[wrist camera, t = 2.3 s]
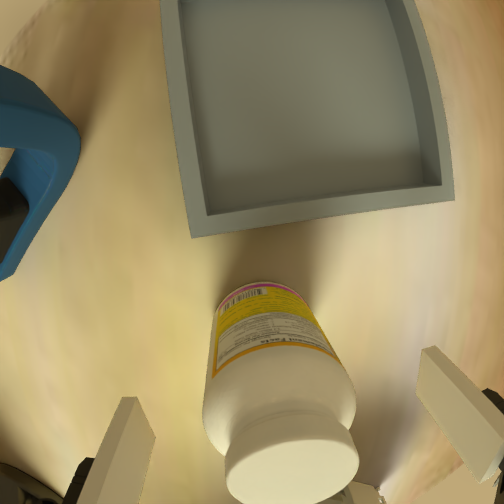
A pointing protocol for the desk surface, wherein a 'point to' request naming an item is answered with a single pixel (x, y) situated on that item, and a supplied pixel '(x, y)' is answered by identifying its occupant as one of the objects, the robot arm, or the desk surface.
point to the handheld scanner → (30, 163)
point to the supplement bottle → (277, 400)
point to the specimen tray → (302, 110)
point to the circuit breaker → (355, 495)
